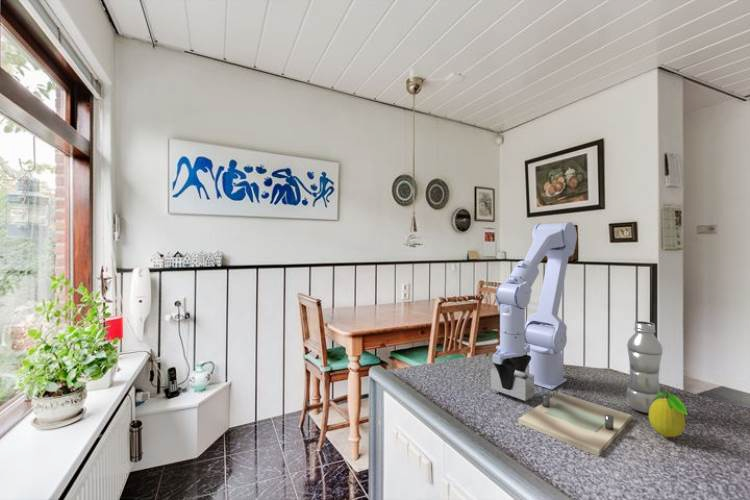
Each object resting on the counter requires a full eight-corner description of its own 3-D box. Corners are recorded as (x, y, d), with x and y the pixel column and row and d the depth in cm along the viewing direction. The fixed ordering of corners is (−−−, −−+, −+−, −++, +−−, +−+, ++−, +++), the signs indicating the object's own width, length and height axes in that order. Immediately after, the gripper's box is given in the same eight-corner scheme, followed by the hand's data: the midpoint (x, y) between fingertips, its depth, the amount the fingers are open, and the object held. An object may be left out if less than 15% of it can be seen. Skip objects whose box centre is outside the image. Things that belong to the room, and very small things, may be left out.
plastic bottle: (656, 406, 81) (657, 321, 80) (666, 420, 75) (667, 327, 74) (622, 401, 83) (624, 318, 83) (629, 414, 77) (631, 324, 77)
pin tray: (558, 396, 86) (559, 382, 86) (631, 419, 75) (631, 403, 75) (518, 423, 74) (518, 406, 74) (598, 456, 62) (598, 437, 62)
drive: (500, 383, 91) (500, 364, 91) (534, 395, 84) (534, 374, 84) (490, 388, 89) (491, 368, 88) (525, 400, 82) (525, 379, 81)
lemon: (687, 451, 64) (688, 397, 63) (646, 439, 68) (647, 388, 67) (687, 436, 68) (688, 386, 68) (649, 425, 72) (650, 378, 72)
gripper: (512, 324, 94) (511, 374, 94) (481, 333, 85) (481, 388, 85) (538, 329, 88) (537, 382, 89) (508, 339, 79) (508, 398, 79)
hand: (512, 386), depth 86 cm, fingers closed on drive, 4 cm apart
